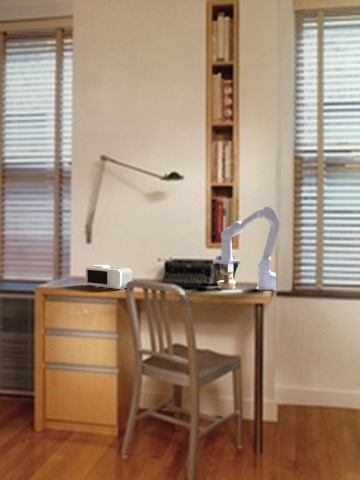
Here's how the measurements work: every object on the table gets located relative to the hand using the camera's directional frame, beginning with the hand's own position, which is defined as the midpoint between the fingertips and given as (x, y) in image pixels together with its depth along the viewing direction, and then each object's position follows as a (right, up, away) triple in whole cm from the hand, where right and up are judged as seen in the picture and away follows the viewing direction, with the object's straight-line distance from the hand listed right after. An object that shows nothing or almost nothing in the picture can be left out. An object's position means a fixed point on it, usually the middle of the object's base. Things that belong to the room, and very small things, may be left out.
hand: (226, 277), depth 288 cm
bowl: (0, -6, 0) cm, 6 cm away
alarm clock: (-64, -6, +6) cm, 65 cm away
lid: (0, -3, 0) cm, 3 cm away
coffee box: (+1, -5, +19) cm, 20 cm away
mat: (+1, -7, -12) cm, 14 cm away
